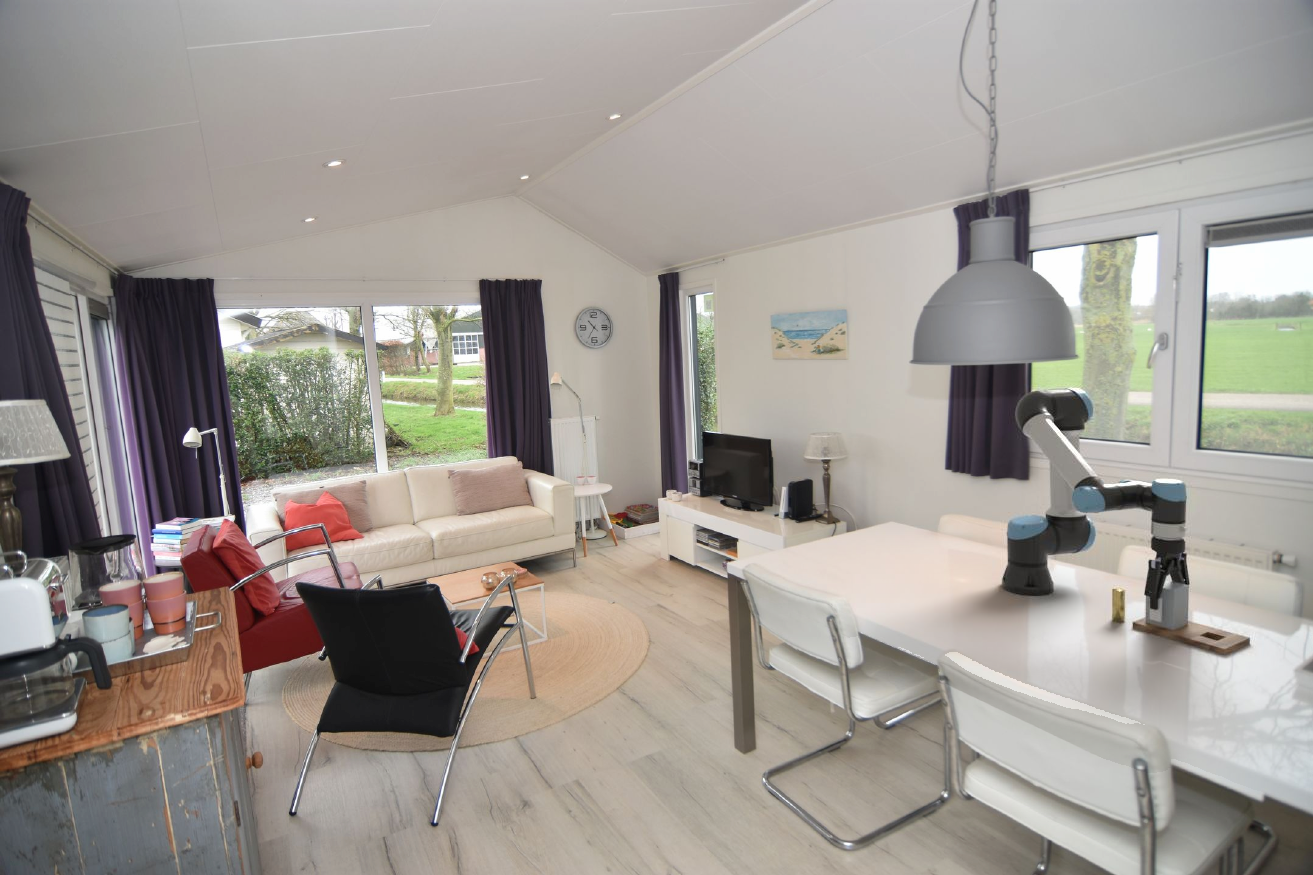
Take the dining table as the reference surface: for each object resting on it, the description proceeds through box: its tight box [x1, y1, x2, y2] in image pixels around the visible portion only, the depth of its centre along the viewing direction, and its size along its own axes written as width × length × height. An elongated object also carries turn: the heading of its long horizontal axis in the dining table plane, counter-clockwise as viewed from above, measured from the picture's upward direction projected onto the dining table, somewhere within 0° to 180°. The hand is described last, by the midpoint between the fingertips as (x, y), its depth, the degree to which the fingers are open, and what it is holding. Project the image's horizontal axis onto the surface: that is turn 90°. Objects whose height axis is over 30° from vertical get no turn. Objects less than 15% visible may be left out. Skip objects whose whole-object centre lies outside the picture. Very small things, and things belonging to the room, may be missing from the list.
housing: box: [1145, 579, 1190, 630], centre depth 193 cm, size 7×7×11 cm
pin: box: [1111, 587, 1126, 623], centre depth 201 cm, size 3×3×9 cm
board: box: [1132, 616, 1251, 656], centre depth 189 cm, size 22×12×2 cm, turn 26°
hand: (1166, 615), depth 193 cm, fingers open, 10 cm apart
